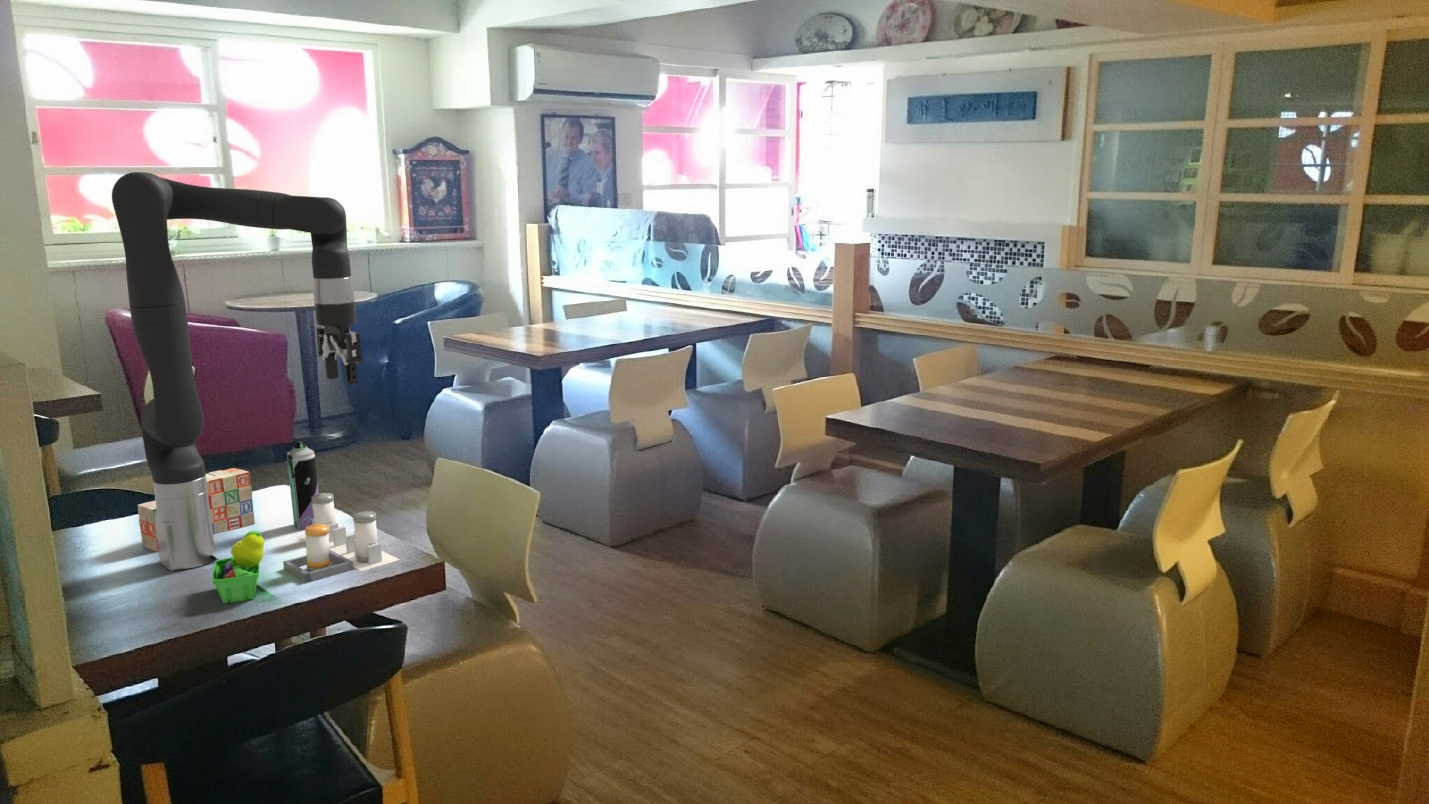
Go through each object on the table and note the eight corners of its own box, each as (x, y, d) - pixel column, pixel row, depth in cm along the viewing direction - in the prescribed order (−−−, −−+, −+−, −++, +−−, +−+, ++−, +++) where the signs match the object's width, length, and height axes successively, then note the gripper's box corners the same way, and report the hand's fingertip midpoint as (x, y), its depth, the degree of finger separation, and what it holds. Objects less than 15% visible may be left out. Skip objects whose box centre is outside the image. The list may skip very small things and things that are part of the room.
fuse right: (363, 564, 196) (359, 519, 194) (353, 559, 198) (348, 514, 197) (383, 558, 198) (379, 514, 197) (373, 553, 201) (369, 509, 199)
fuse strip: (361, 578, 192) (359, 553, 191) (297, 544, 212) (295, 521, 211) (400, 567, 198) (398, 542, 197) (334, 534, 217) (332, 511, 216)
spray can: (312, 536, 216) (303, 445, 212) (289, 535, 217) (279, 444, 213) (327, 528, 221) (318, 438, 217) (304, 526, 223) (295, 437, 218)
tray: (307, 590, 187) (306, 574, 187) (284, 576, 194) (283, 561, 194) (354, 576, 194) (352, 561, 193) (330, 563, 200) (328, 549, 200)
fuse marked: (331, 575, 193) (330, 529, 191) (308, 578, 191) (306, 532, 189) (328, 567, 197) (327, 522, 195) (305, 570, 195) (303, 525, 193)
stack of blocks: (157, 553, 208) (149, 495, 206) (142, 547, 212) (134, 490, 209) (255, 524, 225) (249, 470, 223) (240, 519, 229) (234, 466, 226)
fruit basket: (217, 585, 190) (210, 528, 188) (269, 578, 194) (263, 521, 191) (215, 608, 180) (207, 547, 178) (269, 599, 184) (262, 539, 181)
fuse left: (321, 542, 208) (317, 500, 206) (312, 538, 211) (307, 496, 209) (341, 537, 211) (337, 495, 209) (331, 533, 214) (327, 491, 212)
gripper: (369, 301, 200) (376, 382, 203) (336, 296, 210) (343, 374, 213) (332, 304, 194) (340, 388, 198) (300, 299, 204) (308, 379, 208)
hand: (342, 380), depth 205 cm, fingers open, 8 cm apart
